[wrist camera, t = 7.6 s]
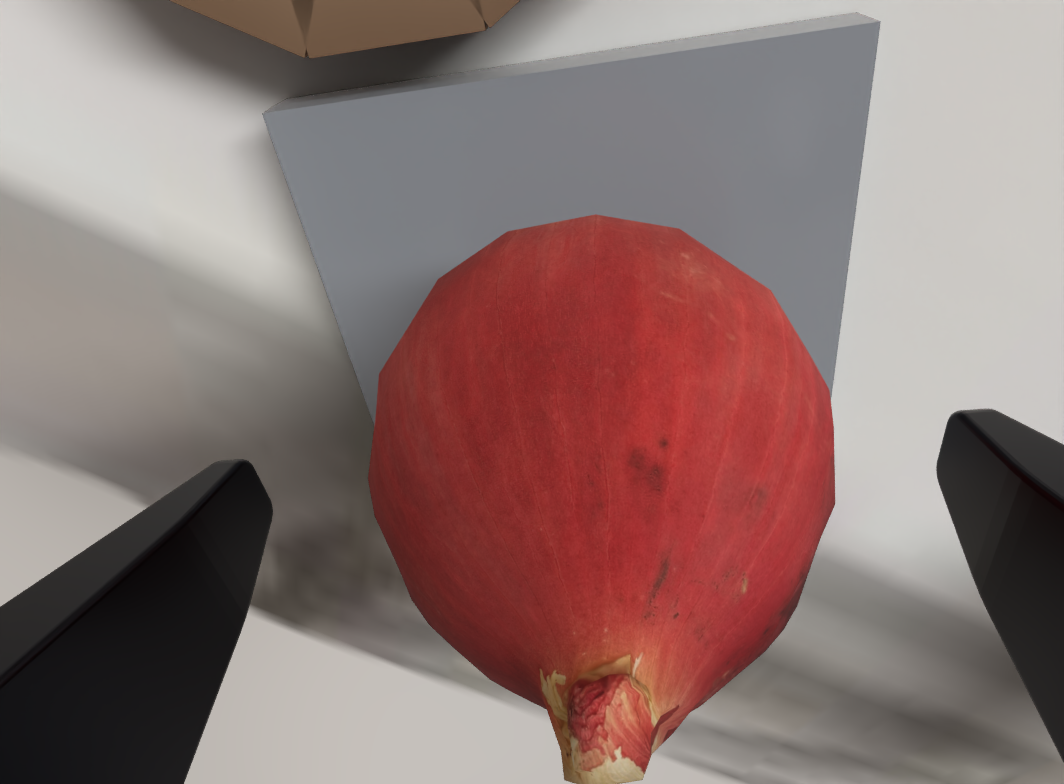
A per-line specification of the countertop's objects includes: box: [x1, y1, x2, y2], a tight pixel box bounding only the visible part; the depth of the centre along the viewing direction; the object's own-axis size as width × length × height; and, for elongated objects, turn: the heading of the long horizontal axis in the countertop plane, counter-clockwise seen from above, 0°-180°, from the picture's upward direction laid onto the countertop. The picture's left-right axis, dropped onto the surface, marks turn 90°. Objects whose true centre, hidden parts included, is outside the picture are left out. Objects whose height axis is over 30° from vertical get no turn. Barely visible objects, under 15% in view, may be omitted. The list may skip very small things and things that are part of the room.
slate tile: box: [262, 12, 880, 425], centre depth 12 cm, size 9×8×1 cm
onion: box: [368, 214, 835, 784], centre depth 9 cm, size 6×6×8 cm
